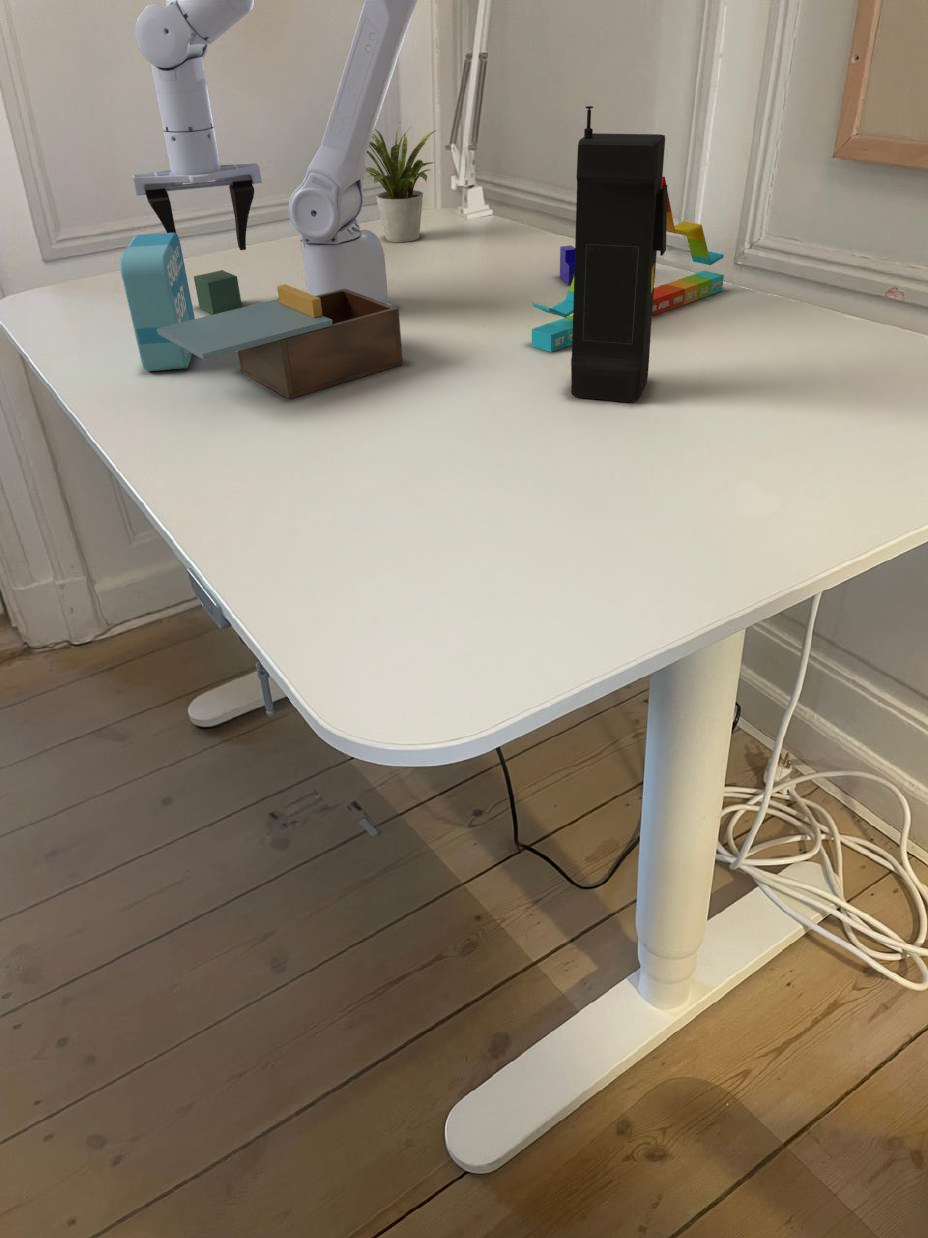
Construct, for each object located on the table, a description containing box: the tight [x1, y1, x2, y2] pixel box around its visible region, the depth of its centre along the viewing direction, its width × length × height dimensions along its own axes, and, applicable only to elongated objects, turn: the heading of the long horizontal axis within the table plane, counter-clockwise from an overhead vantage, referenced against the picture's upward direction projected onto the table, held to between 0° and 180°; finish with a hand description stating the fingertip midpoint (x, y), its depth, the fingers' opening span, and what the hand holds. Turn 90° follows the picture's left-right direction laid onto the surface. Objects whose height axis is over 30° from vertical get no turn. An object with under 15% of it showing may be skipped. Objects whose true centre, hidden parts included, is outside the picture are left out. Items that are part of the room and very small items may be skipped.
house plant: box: [363, 119, 437, 243], centre depth 144 cm, size 14×14×16 cm
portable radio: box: [570, 105, 668, 403], centre depth 88 cm, size 8×6×25 cm
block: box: [193, 269, 243, 315], centre depth 121 cm, size 4×4×4 cm
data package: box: [119, 232, 196, 372], centre depth 105 cm, size 12×4×12 cm, turn 7°
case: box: [236, 289, 404, 400], centre depth 101 cm, size 14×10×6 cm
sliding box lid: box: [157, 283, 333, 361], centre depth 95 cm, size 14×10×2 cm
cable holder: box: [559, 244, 575, 286], centre depth 126 cm, size 8×4×4 cm, turn 105°
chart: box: [531, 176, 725, 353], centre depth 109 cm, size 30×3×15 cm, turn 131°
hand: (210, 251), depth 118 cm, fingers open, 7 cm apart
